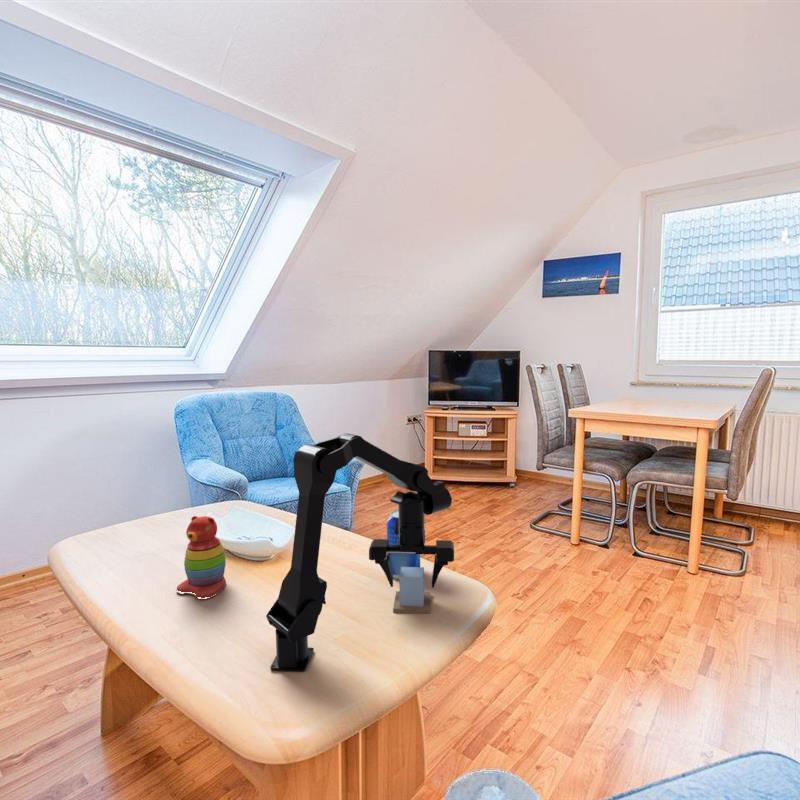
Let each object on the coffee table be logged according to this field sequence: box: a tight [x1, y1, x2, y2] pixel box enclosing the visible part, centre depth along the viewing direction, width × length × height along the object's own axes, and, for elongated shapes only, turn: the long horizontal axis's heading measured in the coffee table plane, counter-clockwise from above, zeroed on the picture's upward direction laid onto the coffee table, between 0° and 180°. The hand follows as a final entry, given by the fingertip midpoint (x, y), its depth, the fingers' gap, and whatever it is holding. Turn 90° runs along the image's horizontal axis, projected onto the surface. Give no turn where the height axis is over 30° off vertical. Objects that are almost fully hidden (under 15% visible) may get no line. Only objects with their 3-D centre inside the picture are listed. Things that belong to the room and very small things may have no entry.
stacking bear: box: [176, 515, 227, 598], centre depth 121 cm, size 11×10×18 cm
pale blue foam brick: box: [398, 566, 425, 606], centre depth 112 cm, size 5×5×7 cm
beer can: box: [386, 509, 421, 580], centre depth 127 cm, size 8×8×16 cm
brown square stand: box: [392, 590, 431, 614], centre depth 112 cm, size 8×8×6 cm
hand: (412, 586), depth 112 cm, fingers open, 9 cm apart
